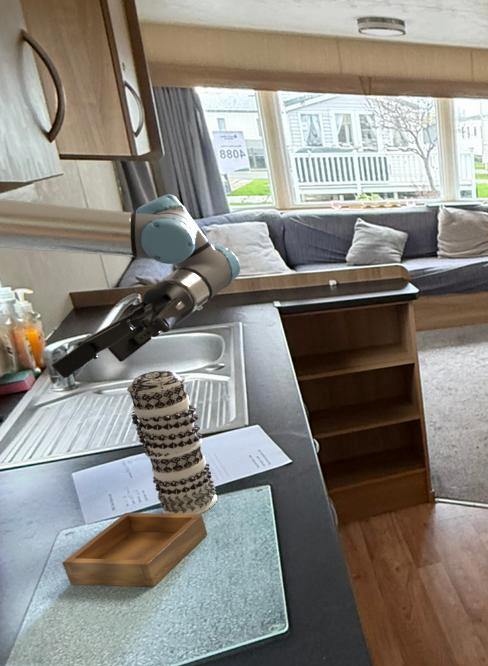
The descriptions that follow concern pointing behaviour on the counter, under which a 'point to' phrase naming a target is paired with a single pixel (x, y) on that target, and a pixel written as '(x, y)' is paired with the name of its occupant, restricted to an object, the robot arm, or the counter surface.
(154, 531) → the tray
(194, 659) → the counter surface
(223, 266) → the robot arm
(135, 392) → the decorative candle
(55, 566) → the counter surface
